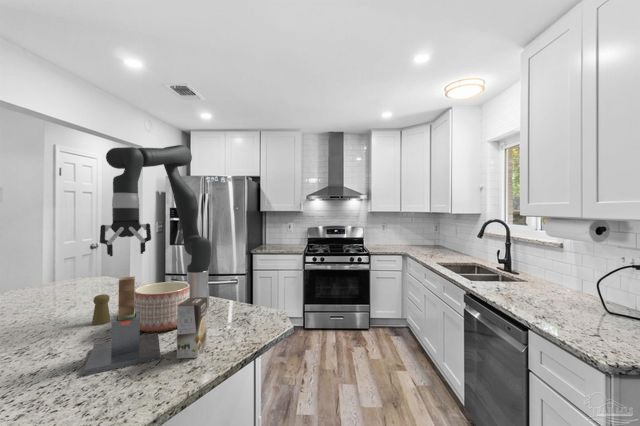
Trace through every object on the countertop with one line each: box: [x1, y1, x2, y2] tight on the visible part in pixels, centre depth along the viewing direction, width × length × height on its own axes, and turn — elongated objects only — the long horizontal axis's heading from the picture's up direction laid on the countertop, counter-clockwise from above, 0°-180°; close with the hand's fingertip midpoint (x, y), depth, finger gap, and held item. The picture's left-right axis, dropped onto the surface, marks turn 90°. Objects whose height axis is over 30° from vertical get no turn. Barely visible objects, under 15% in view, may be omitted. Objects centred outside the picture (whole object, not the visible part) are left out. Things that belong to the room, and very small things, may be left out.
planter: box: [134, 281, 190, 333], centre depth 113 cm, size 19×19×15 cm
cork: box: [91, 293, 112, 326], centre depth 115 cm, size 6×6×11 cm
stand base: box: [83, 312, 161, 376], centre depth 89 cm, size 18×18×12 cm
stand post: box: [117, 276, 136, 320], centre depth 90 cm, size 4×4×16 cm
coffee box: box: [176, 297, 208, 359], centre depth 91 cm, size 9×6×16 cm
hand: (126, 254), depth 96 cm, fingers open, 8 cm apart
